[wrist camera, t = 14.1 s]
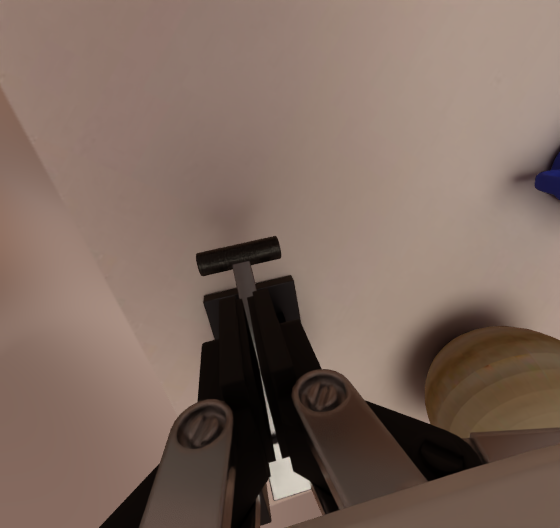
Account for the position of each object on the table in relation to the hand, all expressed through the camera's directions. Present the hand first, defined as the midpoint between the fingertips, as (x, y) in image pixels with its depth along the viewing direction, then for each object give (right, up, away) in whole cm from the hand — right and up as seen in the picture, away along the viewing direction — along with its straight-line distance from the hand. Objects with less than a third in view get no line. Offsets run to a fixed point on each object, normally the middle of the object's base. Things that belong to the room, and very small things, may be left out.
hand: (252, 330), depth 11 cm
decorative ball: (+21, -8, +25) cm, 34 cm away
